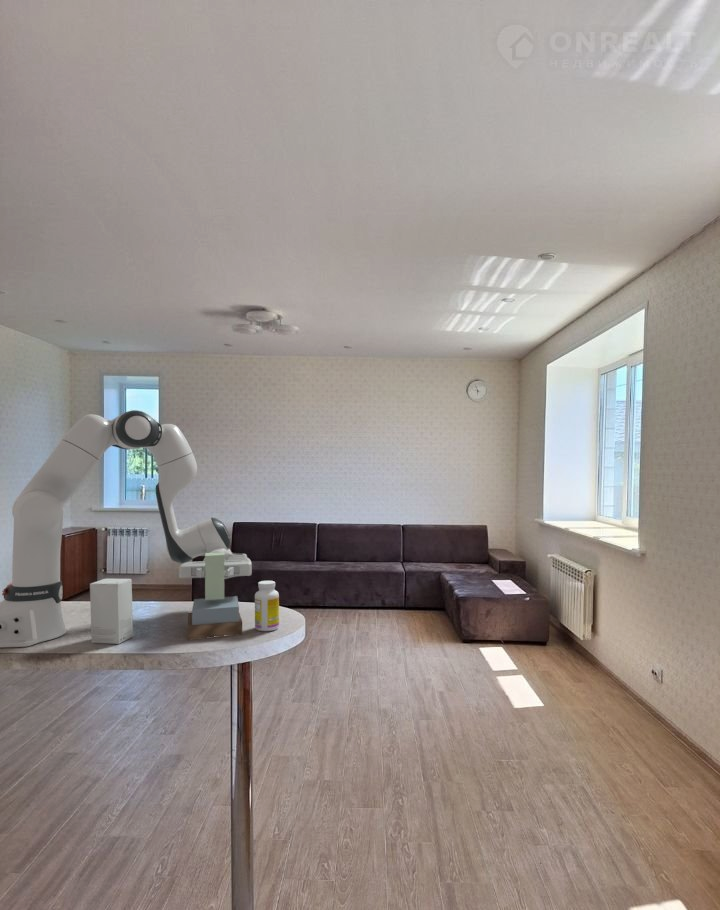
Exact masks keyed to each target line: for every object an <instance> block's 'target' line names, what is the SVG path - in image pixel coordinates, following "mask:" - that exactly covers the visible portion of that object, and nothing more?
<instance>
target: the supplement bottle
mask: <svg viewBox="0 0 720 910" xmlns="http://www.w3.org/2000/svg"><path fill="white" fill-rule="evenodd" d="M257 584H258V586H257V587H258V591H256V592H255V594H254V628H255V630H257V631H259V632H271V631H272V632H273V631H276V630H277V629H279V627H280V595H279V591H277V590H276V589H275V588H276V582H275V581H273V580H261V581H259V582H257Z"/></svg>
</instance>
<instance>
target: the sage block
mask: <svg viewBox="0 0 720 910" xmlns="http://www.w3.org/2000/svg"><path fill="white" fill-rule="evenodd" d="M204 558H205V578H204V596H205V597H204V598H205V600H215V599H224V597H225V579H224V552H216V553H205V554H204Z"/></svg>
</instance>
